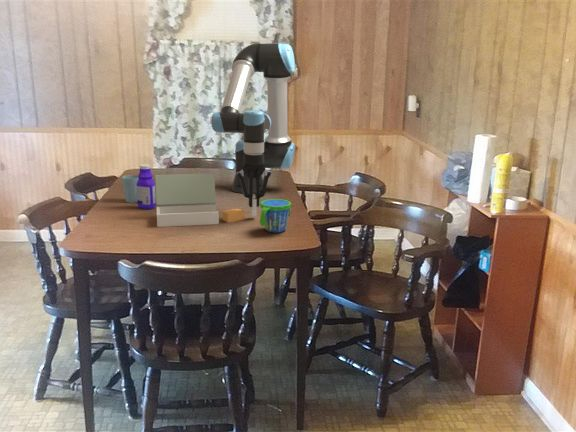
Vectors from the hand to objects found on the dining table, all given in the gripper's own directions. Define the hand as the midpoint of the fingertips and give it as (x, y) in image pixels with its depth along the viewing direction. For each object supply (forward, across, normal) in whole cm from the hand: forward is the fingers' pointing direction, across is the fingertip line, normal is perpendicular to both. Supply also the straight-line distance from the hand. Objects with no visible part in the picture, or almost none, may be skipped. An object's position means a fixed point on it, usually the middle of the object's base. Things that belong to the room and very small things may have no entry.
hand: (253, 215), depth 221 cm
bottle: (+2, +40, -23) cm, 46 cm away
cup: (+2, +46, -35) cm, 58 cm away
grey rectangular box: (+1, +25, -1) cm, 25 cm away
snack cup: (+2, -5, +16) cm, 17 cm away
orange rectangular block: (+2, +8, 0) cm, 8 cm away
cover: (-9, +25, -7) cm, 27 cm away
